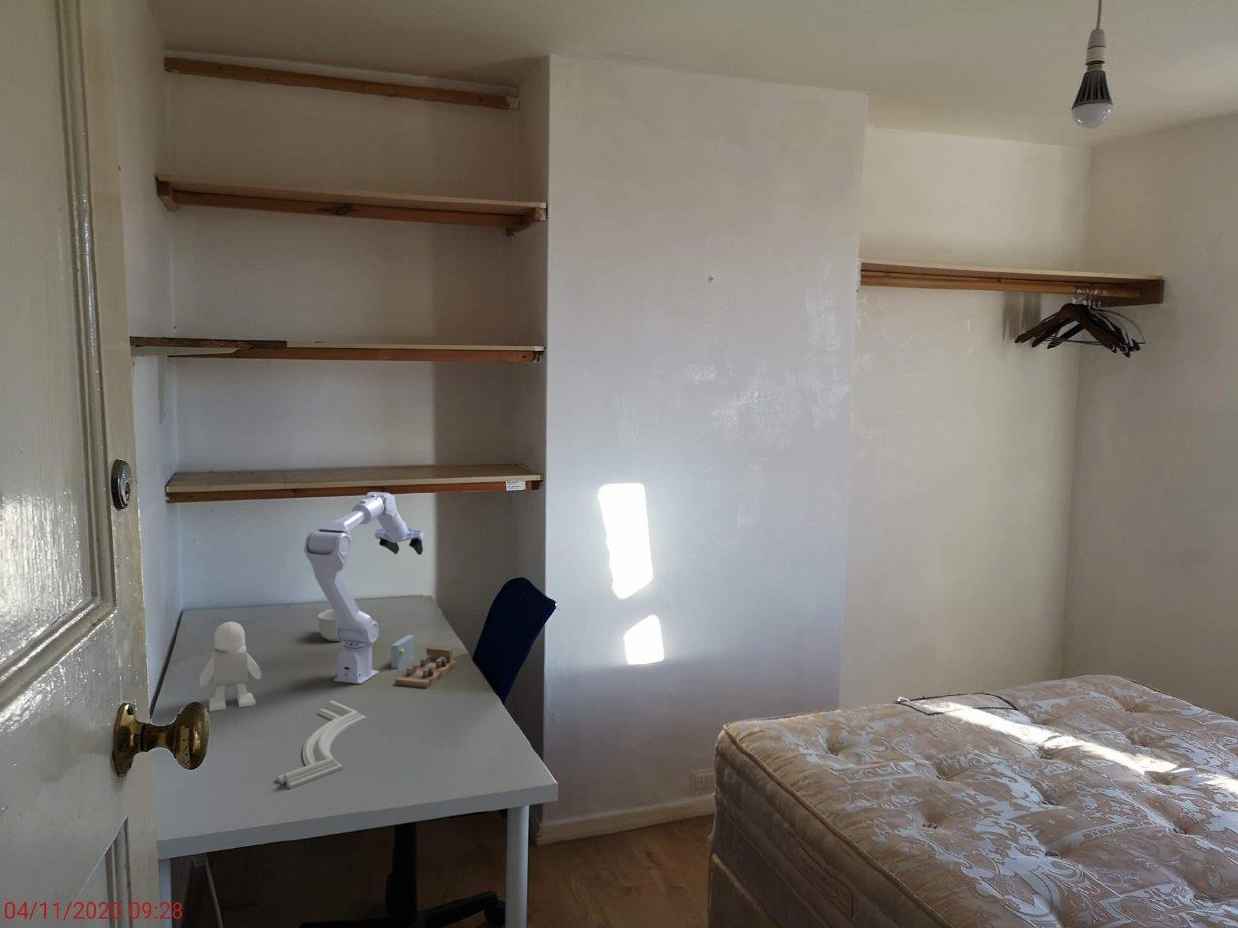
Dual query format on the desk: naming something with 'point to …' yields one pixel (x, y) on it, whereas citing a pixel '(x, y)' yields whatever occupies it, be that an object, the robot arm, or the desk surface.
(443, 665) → the knife switch board
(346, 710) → the molding
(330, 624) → the teacup
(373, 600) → the desk surface
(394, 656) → the rectangular block
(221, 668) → the toy robot
